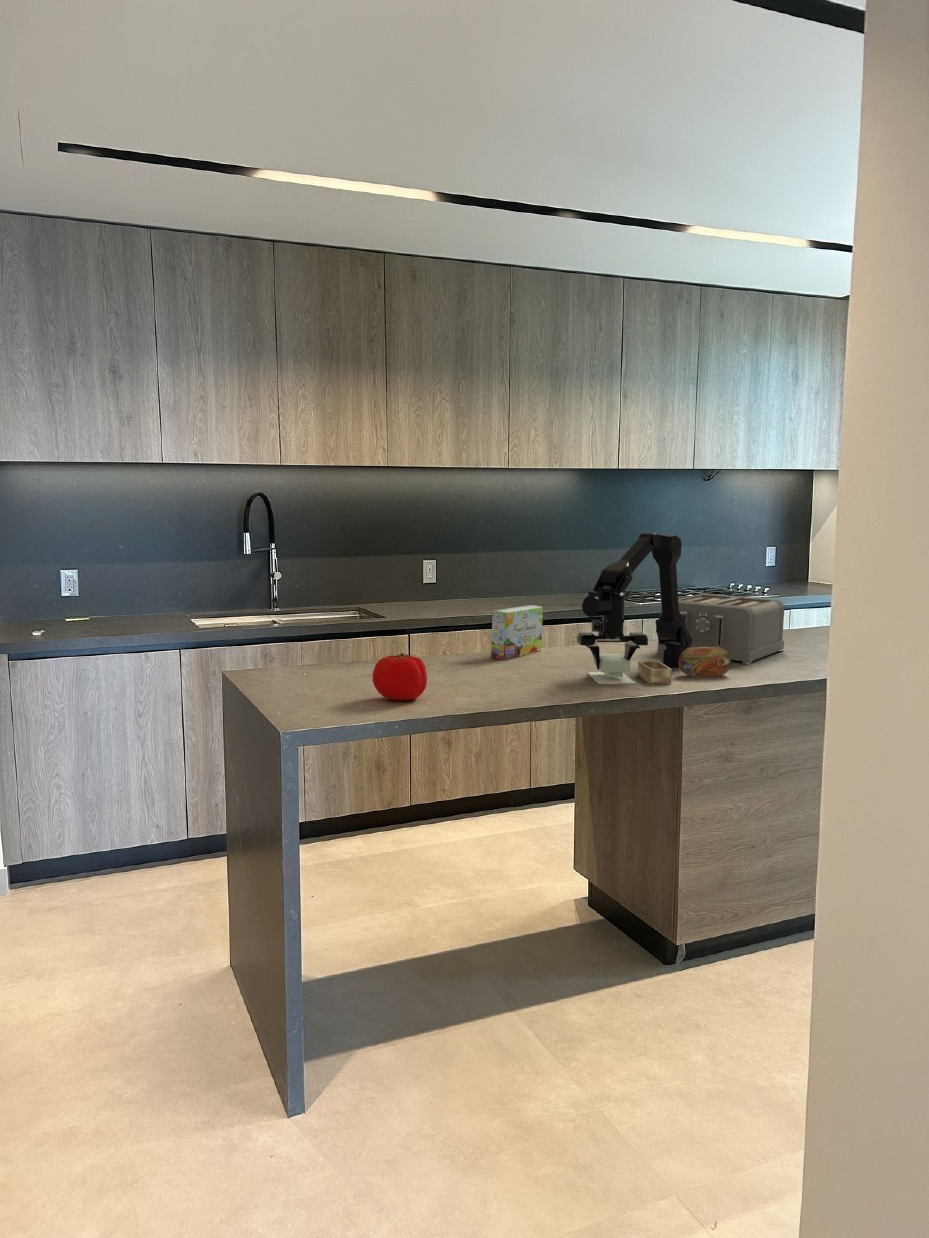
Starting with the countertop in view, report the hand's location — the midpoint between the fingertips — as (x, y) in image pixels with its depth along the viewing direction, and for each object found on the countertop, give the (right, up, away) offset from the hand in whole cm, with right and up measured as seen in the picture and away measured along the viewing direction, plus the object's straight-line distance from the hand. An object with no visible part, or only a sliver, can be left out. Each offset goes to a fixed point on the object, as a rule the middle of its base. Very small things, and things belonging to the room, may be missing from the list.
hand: (611, 669), depth 257 cm
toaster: (+42, +3, +45) cm, 62 cm away
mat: (0, -3, 0) cm, 3 cm away
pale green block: (0, -1, 0) cm, 1 cm away
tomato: (-57, -6, -28) cm, 64 cm away
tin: (+27, -2, +7) cm, 28 cm away
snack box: (-24, +2, +35) cm, 43 cm away
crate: (+12, -3, 0) cm, 12 cm away
